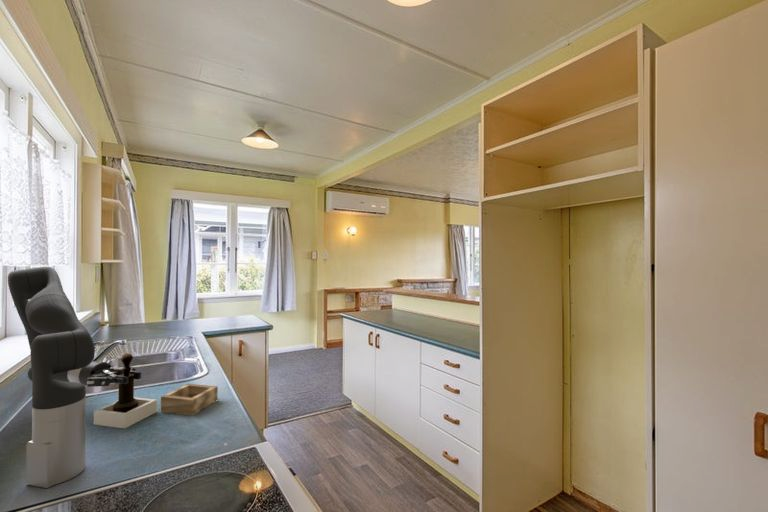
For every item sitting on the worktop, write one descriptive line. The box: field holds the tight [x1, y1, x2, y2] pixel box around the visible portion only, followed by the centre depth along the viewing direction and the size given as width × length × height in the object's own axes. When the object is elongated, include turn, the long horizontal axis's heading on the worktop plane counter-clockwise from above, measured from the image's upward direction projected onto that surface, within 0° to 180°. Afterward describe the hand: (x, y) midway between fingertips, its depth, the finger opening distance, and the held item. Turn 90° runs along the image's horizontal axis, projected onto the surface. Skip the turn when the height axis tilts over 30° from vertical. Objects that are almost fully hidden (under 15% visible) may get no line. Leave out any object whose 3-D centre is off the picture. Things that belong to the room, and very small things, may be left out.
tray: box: [93, 396, 158, 429], centre depth 111 cm, size 11×11×4 cm
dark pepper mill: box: [113, 352, 138, 413], centre depth 111 cm, size 7×6×18 cm
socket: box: [160, 383, 219, 416], centre depth 120 cm, size 12×12×5 cm
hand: (133, 378), depth 111 cm, fingers closed on dark pepper mill, 3 cm apart
